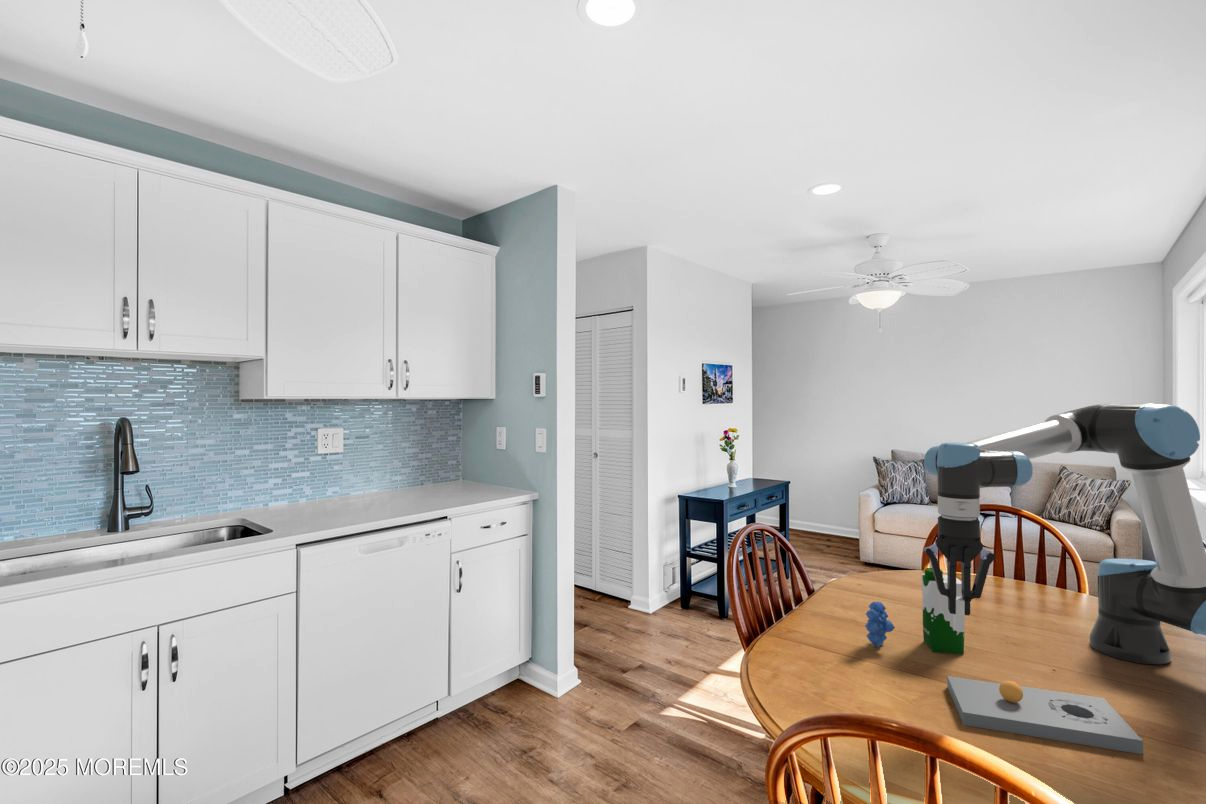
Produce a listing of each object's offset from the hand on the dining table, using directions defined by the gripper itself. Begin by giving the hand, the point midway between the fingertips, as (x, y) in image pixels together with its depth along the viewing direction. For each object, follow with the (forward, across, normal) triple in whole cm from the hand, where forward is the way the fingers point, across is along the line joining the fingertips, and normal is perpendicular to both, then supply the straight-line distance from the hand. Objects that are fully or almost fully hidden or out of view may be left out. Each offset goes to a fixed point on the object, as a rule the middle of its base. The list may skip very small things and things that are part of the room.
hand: (959, 629), depth 122 cm
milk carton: (+16, +2, +31) cm, 35 cm away
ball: (+12, +9, 0) cm, 15 cm away
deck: (+16, +13, 0) cm, 21 cm away
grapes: (+16, -13, +26) cm, 33 cm away
